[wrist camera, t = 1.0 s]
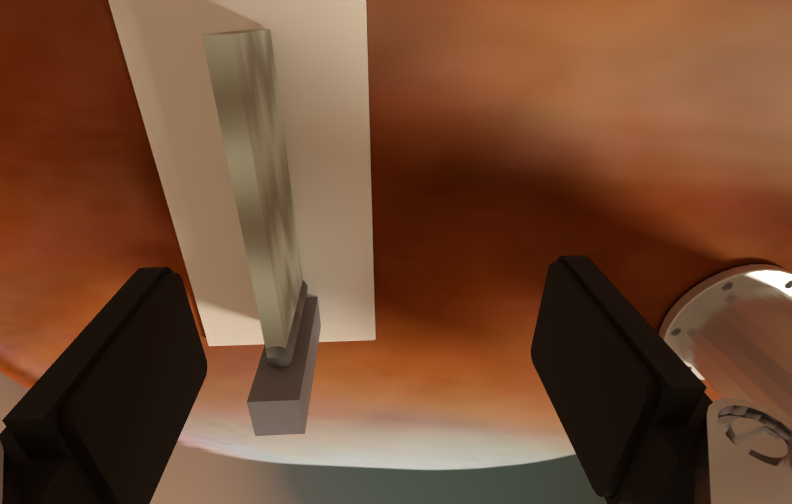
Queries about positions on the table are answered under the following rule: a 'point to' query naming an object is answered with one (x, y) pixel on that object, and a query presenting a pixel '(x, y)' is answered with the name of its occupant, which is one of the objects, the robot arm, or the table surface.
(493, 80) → the table surface
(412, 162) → the table surface
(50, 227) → the table surface
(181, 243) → the base
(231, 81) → the gate leaf
